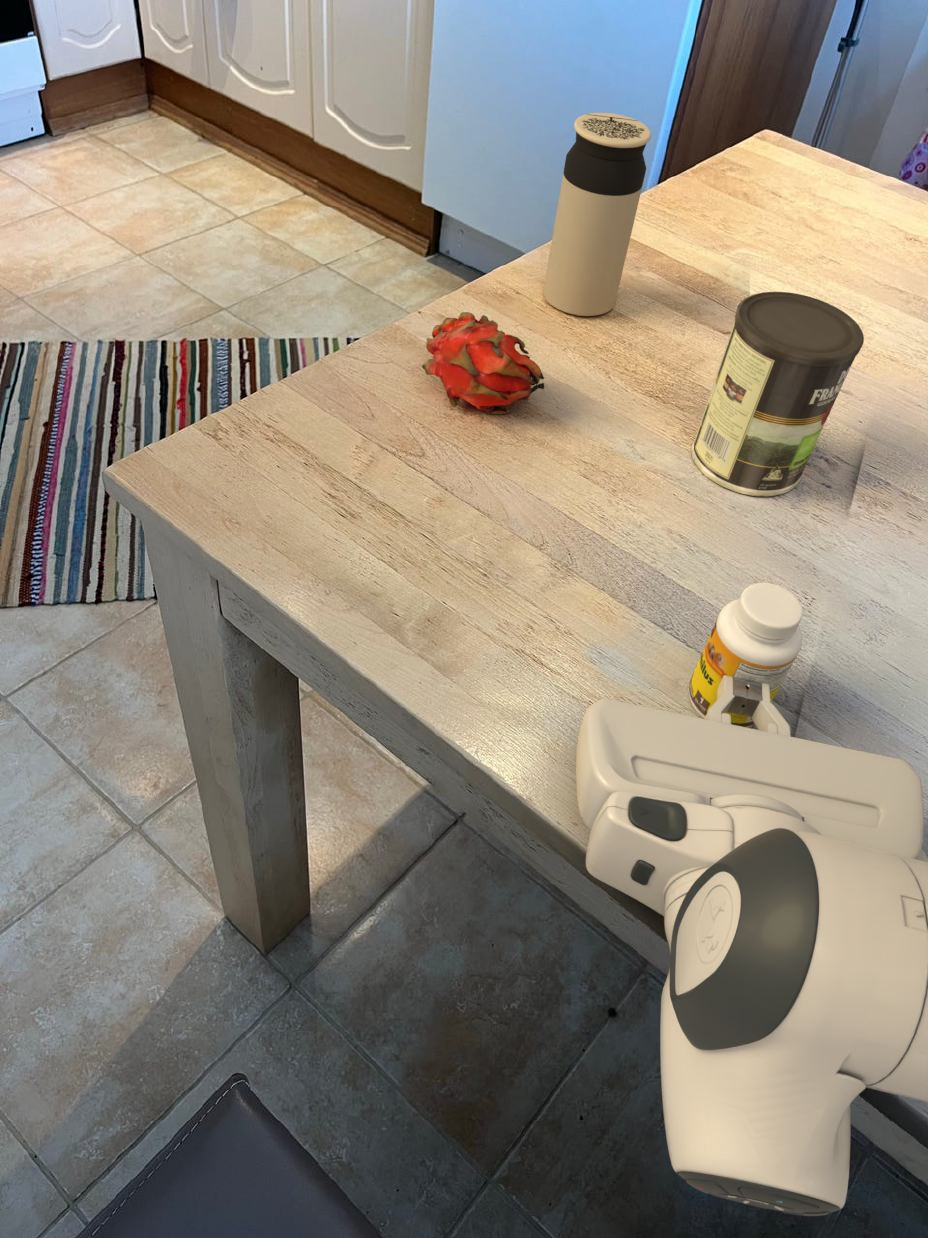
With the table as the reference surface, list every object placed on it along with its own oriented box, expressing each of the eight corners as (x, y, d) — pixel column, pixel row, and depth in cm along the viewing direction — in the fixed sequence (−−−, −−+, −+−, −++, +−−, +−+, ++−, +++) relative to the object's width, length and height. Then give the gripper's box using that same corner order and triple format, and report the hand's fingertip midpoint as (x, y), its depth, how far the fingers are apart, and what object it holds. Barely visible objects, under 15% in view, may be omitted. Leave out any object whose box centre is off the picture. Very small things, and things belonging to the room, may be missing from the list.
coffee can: (818, 460, 88) (882, 323, 78) (773, 513, 82) (836, 373, 72) (720, 413, 92) (769, 276, 81) (670, 461, 86) (715, 320, 75)
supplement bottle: (687, 664, 69) (730, 564, 62) (763, 681, 69) (815, 583, 61) (683, 724, 66) (727, 625, 58) (763, 742, 65) (818, 645, 58)
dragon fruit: (418, 384, 93) (525, 440, 91) (392, 376, 85) (509, 437, 83) (456, 302, 91) (566, 358, 89) (433, 285, 83) (554, 347, 81)
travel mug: (610, 324, 101) (651, 149, 88) (537, 310, 102) (567, 134, 88) (617, 289, 106) (656, 119, 93) (548, 275, 107) (577, 105, 94)
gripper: (965, 890, 49) (925, 687, 59) (578, 808, 50) (600, 621, 60) (911, 941, 54) (882, 745, 63) (558, 865, 55) (581, 683, 64)
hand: (742, 685), depth 62 cm, fingers closed, pressing on supplement bottle
